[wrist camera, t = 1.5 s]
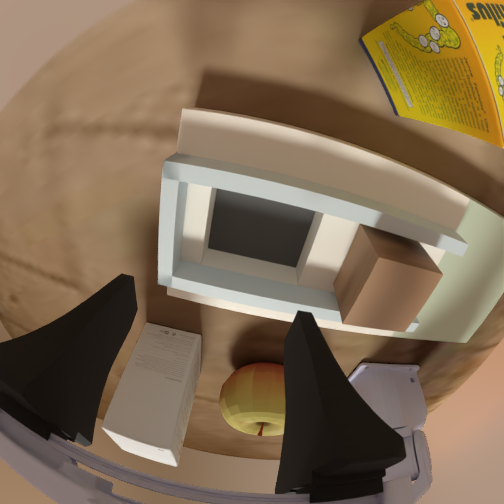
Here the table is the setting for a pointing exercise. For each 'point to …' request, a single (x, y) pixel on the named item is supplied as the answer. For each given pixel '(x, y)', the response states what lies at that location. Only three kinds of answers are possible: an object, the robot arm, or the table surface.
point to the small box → (156, 394)
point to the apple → (255, 399)
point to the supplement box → (444, 65)
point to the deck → (312, 224)
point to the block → (384, 280)
